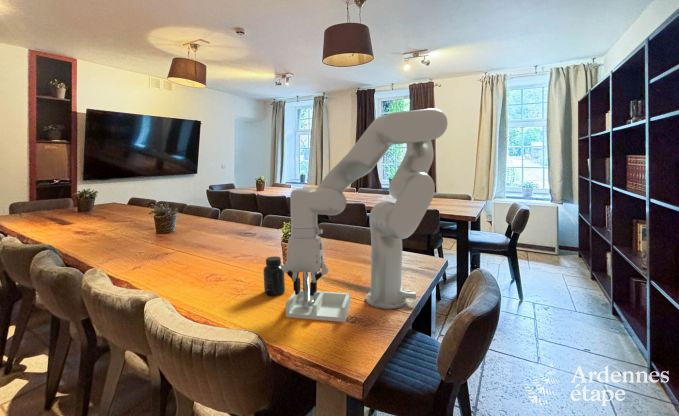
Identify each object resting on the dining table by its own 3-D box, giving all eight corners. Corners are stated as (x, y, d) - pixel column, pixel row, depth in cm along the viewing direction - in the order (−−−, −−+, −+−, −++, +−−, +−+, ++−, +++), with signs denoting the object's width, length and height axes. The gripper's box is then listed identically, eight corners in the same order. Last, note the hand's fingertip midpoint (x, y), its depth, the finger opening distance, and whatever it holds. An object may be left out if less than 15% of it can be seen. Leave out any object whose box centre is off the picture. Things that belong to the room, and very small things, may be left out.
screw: (317, 304, 100) (310, 311, 95) (302, 302, 102) (295, 309, 97) (316, 263, 98) (309, 268, 93) (301, 261, 100) (293, 266, 95)
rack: (350, 306, 102) (350, 293, 101) (344, 322, 92) (344, 307, 91) (296, 302, 105) (296, 289, 104) (285, 317, 95) (285, 303, 94)
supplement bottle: (273, 287, 117) (272, 254, 115) (289, 291, 113) (288, 257, 112) (259, 294, 111) (258, 259, 109) (275, 298, 108) (274, 262, 106)
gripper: (335, 230, 97) (335, 290, 100) (280, 228, 100) (282, 286, 103) (330, 236, 90) (330, 300, 93) (271, 234, 93) (273, 296, 96)
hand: (305, 292), depth 98 cm, fingers open, 3 cm apart
